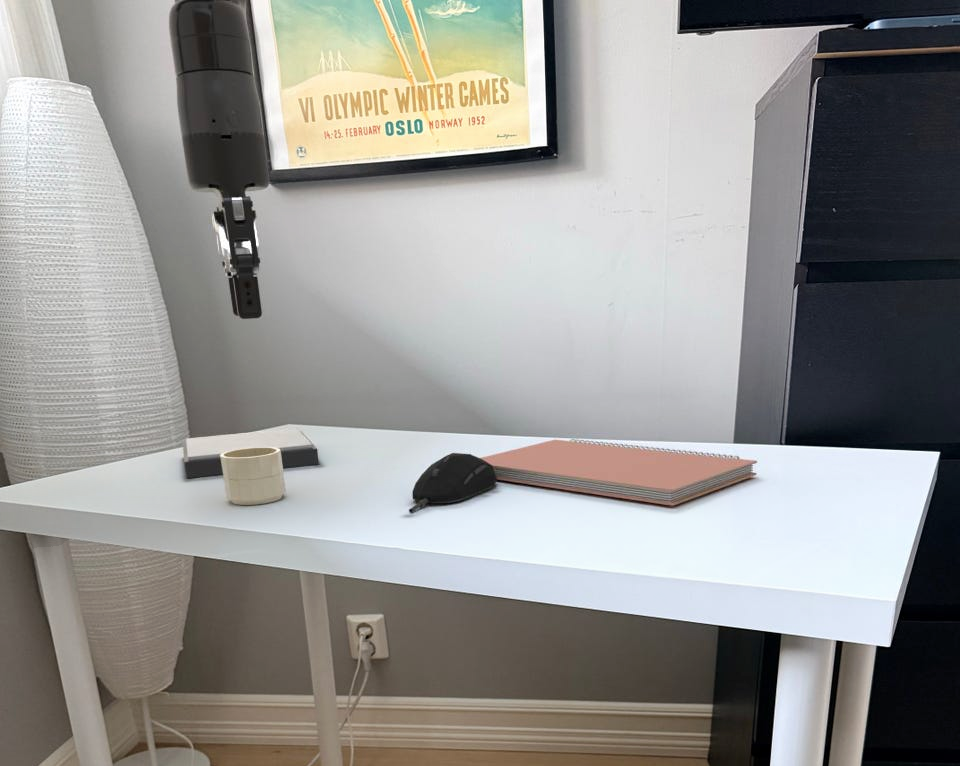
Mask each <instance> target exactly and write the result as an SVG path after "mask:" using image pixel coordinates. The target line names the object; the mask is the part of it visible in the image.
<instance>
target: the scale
mask: <svg viewBox="0 0 960 766" xmlns="http://www.w3.org/2000/svg"><path fill="white" fill-rule="evenodd" d="M252 447H274V448H279V449H280V451H281V458H282V465H283V469H289V468H297V467H299V468H300V467H307V466H317V465H320V462H319V451H318V448H317V447H316V446H315V445H314V444H313V442H312V441H311V439H309V438H308V436H306V435H305V434H304V433H303V431H302V430H300V429H299V428H298V427H294V428H293V427H291V428H282V429H281V428H280V429H272V430H271V429H270V430H262V431H261V430H260V431H252V432H251V431H250V432H241V433H230V434H229V433H228V434H220V435H210V436H199V437H190V438H189V437H188V438H185V441H183V442H182V452H183V463H184V469H185V470H184V471H185V476H186V479H196V478H205V477H215V476H223V472H222V465H221V459H220V454H222V453H224V452H227V451H231V450H236V449H243V448H252Z"/></svg>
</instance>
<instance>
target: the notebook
mask: <svg viewBox="0 0 960 766" xmlns="http://www.w3.org/2000/svg"><path fill="white" fill-rule="evenodd" d="M480 458H481V459H483V460H484V461H486V462H488V463H489V464H491V465H492V466H493V468H494V471H495V474H496V476H497V481H498V480H499V481H505V482H512V483H517V484H518V483H519V484H525V485H531V486H539V487H545V488H552V489H558V490H565V491H571V492H578V493H579V492H580V493H585V494H592V495H599V496H605V497H613V498H618V499H619V498H620V499H625V500H631V501H638V502H646V503H652V504H657V505H659V504H660V505H666V506H675V505H676V506H677V505H679V504H681V503H684V502H687V501H690V500H693V499H695V498H698V497H701V496H703V495H706V494H708V493H711V492H715V491H716V490H720V489H723V488H726V487H728V486H730V485H733V484H735V483H739V482H742V481H744V480H746V479H750V478H752V477H755V476H757V472H753V471H754V465H755V464H757V463H758V460H754V459H743V458H740V456H739V455H731V454H728V455H727V454H725V453H723V454H720V453H713V452H710V453H709V452H708V451H707V452H702V451H699V452H698V451H696V450H694V451H692V450H685V449H682V450H681V449H675V448H664V447H660V448H659V447H653V446H647V445H645V446H643V445H637V444H634V445H633V444H627V443H625V444H623V443H617V442H614V443H613V442H607V441H605V442H604V441H597V440H595V441H594V440H587V439H586V440H584V439H578V438H576V439H575V438H570V439H569V440H565V439H564V440H563V439H552V440H549V441H544V442H540V443H536V444H531V445H528V446H524V447H519V448H515V449H511V450H506V451H503V452H499V453H495V454H491V455H487V456H483V457H480Z"/></svg>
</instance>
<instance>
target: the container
mask: <svg viewBox="0 0 960 766" xmlns="http://www.w3.org/2000/svg"><path fill="white" fill-rule="evenodd" d="M220 459H221V465H222V472H223V475H222V478H223V483H224V484H223V485H224V490H225V497H226V500H229V501H230V502H231V503H232V504H233V505H239V506H255V505H263V504H264V505H265V504H268V503H269V504H270V503H273V502H277V501H279V500H281V499H282V498H283V495H285V493H286V492H287V488H286V482H285V473H284V468H283V465H282V458H281V451H280V449H279V448H274V447H252V448H243V449H236V450H231V451H227V452H224V453H222V454H220Z"/></svg>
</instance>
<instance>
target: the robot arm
mask: <svg viewBox="0 0 960 766" xmlns="http://www.w3.org/2000/svg"><path fill="white" fill-rule="evenodd" d="M168 32H169V40H170V48H171V54H172V60H173V61H172V62H173V68H174V74H175V75H174V76H175V77H176V78H175V82H176V84H175V85H176V106H177V107H176V108H177V113H178V121H179V128H180V134H181V142H182V149H183V154H184V162H185V168H186V169H185V170H186V177H187V182H188V186H189V188H190V189H191V190H192V191H194V192H199V193H213V194H215V195H216V197H217V202H218V206H217V207H215V210H213V211H212V213H211V218H212V226H213V231H214V233H215V235H216V242H217V249H218V255H219V258H220V259H222V261H221V263H222V267H223V272H224V274H225V276H226V278H227V281H228V289H229V295H230V304H231V311H232V313H233V315H234V316H235V317H239V318H240V319H242V320H253V319H260V318H261V317H262V315H263V310H262V303H261V296H260V287H259V279H258V276H259V271H260V264H261V258H260V257H259V255H260V242H259V236H258V217H257V211H256V209H253V208H254V205H253V204H254V202H253V200H251V196H247V195H246V192H257V191H262V190H266V189H267V188H268V187H269V186H270V182H271V181H270V175H269V174H270V172H269V165H268V156H267V149H266V140H265V133H264V123H263V116H262V107H261V102H260V96H259V93H258V89H257V85H256V79H255V70H254V62H253V54H252V46H251V39H250V32H249V27H248V22H247V0H174V4H173V5H172V6H171V7H170V10H169V12H168Z"/></svg>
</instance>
